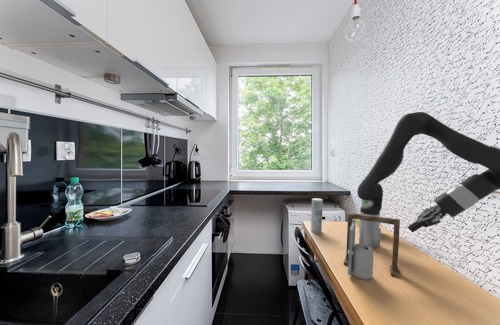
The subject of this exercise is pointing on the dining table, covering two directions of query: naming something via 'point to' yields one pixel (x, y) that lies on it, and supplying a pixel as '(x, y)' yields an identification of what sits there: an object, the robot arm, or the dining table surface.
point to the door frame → (395, 222)
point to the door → (351, 246)
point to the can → (362, 261)
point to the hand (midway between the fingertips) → (409, 229)
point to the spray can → (316, 215)
